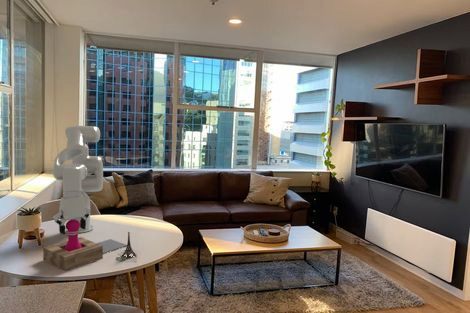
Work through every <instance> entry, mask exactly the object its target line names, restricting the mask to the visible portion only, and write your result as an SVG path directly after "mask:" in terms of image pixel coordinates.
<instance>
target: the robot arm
mask: <svg viewBox="0 0 470 313" xmlns="http://www.w3.org/2000/svg"><path fill="white" fill-rule="evenodd" d="M65 136H66V139H67V140H66V147H65V148H63V150H61V151H60V152H59V153H58V154H57V155H56V157H55V158H54V163H53V168H52V176H53V178H54V179H55V180H57V181H62V196H61V198H60V202H59V210H58V212H57V213H56V214H55V215H53V216H52V219H53V221H54V222H55V223H56V224H57V225H59V226H58V228H59V229H58V230H59V233H60V234H61V235H66V223H67V222H68V221H69V220H72V219H75V220H78V221H79V222H80V228H79V229H78V230H79V233H78V234H80V233H89V232H90V231H92V230H93V229H94V226H93V225H91V212H92V210H91V198H90V197H89V195H88V194H87V193H89V192H90V193H92V192H93V193H95V192H100V191H102V190H103V189H104V188H103V187H104V165H103V164H104V163H103V159H102V157H100V156H98V155H97V156H96V155H94V156H93V155H89V146H88V145H87V144H86V143H98V142H99V141H100V139H101V130H100V128H99V127H98V126H94V125H73V126H72V125H71V126H68V127H66V128H65ZM68 161H71V163H67V162H68Z"/></svg>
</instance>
